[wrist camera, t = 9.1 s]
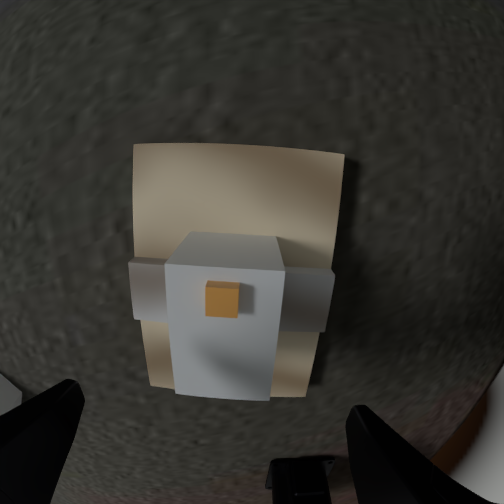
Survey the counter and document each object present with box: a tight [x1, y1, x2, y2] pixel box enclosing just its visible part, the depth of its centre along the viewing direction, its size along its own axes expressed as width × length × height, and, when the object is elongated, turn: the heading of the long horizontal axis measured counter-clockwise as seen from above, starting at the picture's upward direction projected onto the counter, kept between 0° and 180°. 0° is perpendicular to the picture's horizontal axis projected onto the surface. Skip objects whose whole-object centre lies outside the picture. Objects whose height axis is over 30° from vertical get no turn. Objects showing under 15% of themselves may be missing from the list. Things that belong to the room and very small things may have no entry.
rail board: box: [128, 143, 344, 397], centre depth 17 cm, size 16×11×2 cm
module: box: [165, 231, 285, 401], centre depth 14 cm, size 7×4×6 cm
